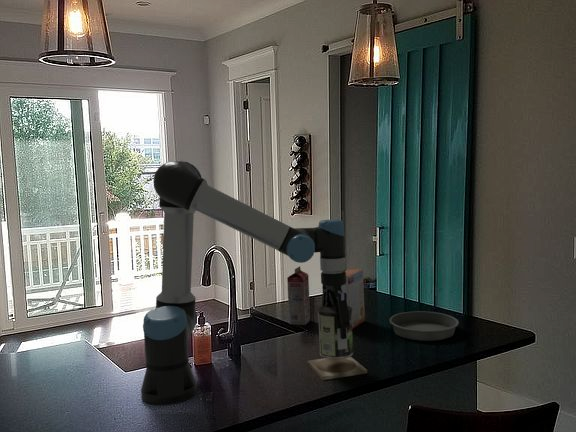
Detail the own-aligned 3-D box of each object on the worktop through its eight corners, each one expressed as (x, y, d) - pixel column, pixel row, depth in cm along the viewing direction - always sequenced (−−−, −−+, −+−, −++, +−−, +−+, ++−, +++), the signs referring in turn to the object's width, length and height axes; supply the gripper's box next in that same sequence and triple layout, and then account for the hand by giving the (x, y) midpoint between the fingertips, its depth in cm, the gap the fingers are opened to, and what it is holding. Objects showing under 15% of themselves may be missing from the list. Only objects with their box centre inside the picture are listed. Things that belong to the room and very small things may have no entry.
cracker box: (351, 319, 219) (349, 267, 217) (365, 321, 216) (364, 268, 214) (336, 329, 207) (334, 274, 205) (350, 331, 204) (349, 275, 202)
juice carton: (289, 324, 216) (287, 269, 214) (294, 319, 222) (292, 265, 220) (305, 325, 214) (303, 269, 212) (310, 320, 220) (308, 266, 218)
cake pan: (389, 342, 190) (389, 329, 190) (389, 322, 214) (389, 310, 214) (463, 343, 186) (463, 330, 186) (454, 322, 210) (454, 311, 210)
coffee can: (354, 348, 171) (353, 304, 169) (351, 360, 161) (350, 313, 159) (321, 347, 173) (320, 303, 171) (317, 359, 163) (315, 312, 161)
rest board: (322, 380, 158) (322, 376, 158) (307, 363, 172) (307, 360, 172) (367, 373, 162) (367, 369, 162) (348, 357, 176) (348, 354, 176)
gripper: (360, 276, 155) (362, 353, 157) (331, 264, 176) (333, 331, 178) (335, 279, 152) (338, 357, 154) (309, 266, 174) (312, 334, 176)
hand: (335, 343), depth 166 cm, fingers closed on coffee can, 10 cm apart
